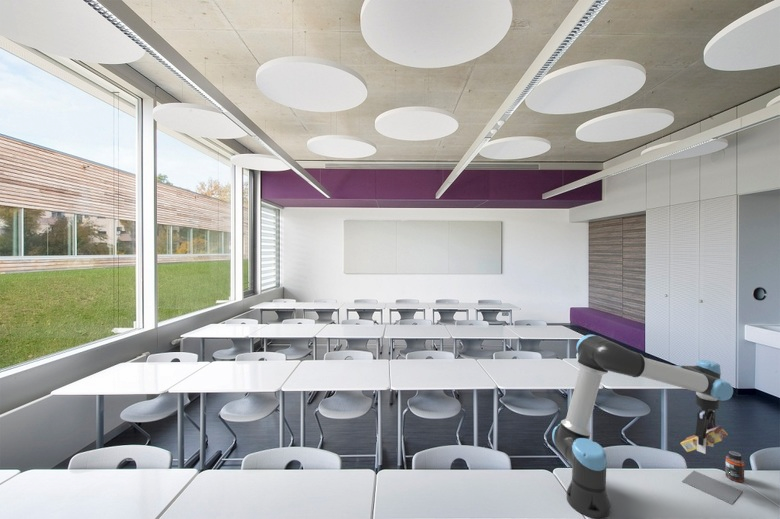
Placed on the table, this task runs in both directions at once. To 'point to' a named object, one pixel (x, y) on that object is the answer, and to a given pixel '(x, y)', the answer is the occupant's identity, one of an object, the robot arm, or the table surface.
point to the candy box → (711, 437)
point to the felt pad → (712, 487)
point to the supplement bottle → (734, 467)
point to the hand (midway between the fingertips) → (705, 448)
